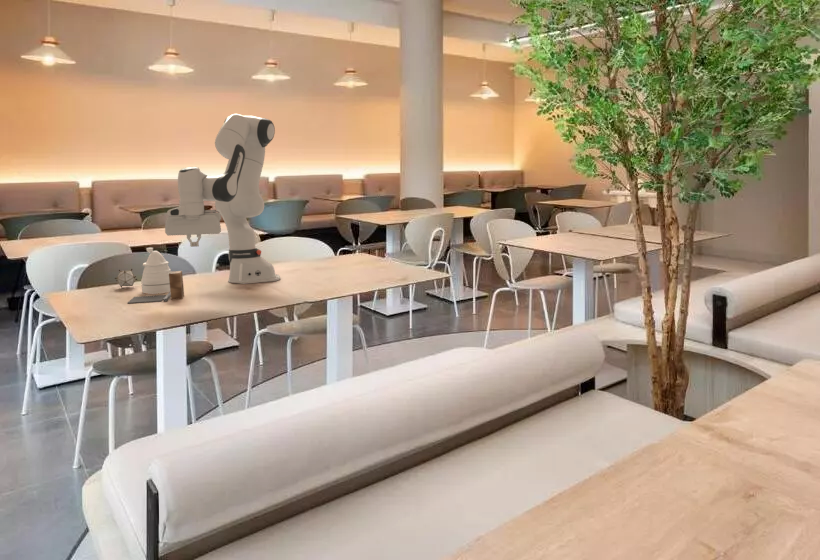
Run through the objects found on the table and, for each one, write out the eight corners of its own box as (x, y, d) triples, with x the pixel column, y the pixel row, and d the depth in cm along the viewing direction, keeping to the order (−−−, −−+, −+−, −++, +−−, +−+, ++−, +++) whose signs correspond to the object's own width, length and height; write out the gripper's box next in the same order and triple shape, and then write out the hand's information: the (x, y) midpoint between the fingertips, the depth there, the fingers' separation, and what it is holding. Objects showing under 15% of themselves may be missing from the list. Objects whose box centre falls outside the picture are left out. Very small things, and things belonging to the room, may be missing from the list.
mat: (166, 295, 251) (166, 294, 251) (161, 301, 240) (161, 300, 240) (134, 297, 249) (134, 296, 249) (127, 303, 237) (127, 302, 237)
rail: (172, 294, 253) (172, 291, 253) (167, 301, 239) (166, 298, 239) (169, 295, 252) (169, 292, 252) (163, 301, 239) (163, 298, 239)
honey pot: (143, 295, 254) (139, 250, 251) (140, 290, 266) (136, 247, 263) (177, 291, 260) (173, 247, 257) (173, 287, 271) (169, 245, 268)
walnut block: (184, 296, 250) (182, 270, 248) (182, 298, 244) (179, 273, 242) (173, 296, 249) (171, 271, 247) (171, 299, 243) (168, 273, 242)
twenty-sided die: (129, 297, 272) (126, 280, 265) (112, 289, 273) (108, 273, 266) (142, 283, 278) (140, 267, 271) (125, 276, 279) (122, 260, 272)
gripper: (221, 209, 248) (223, 244, 250) (165, 210, 244) (168, 246, 246) (219, 209, 242) (222, 246, 244) (162, 211, 237) (165, 248, 240)
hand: (194, 246), depth 245 cm, fingers closed
